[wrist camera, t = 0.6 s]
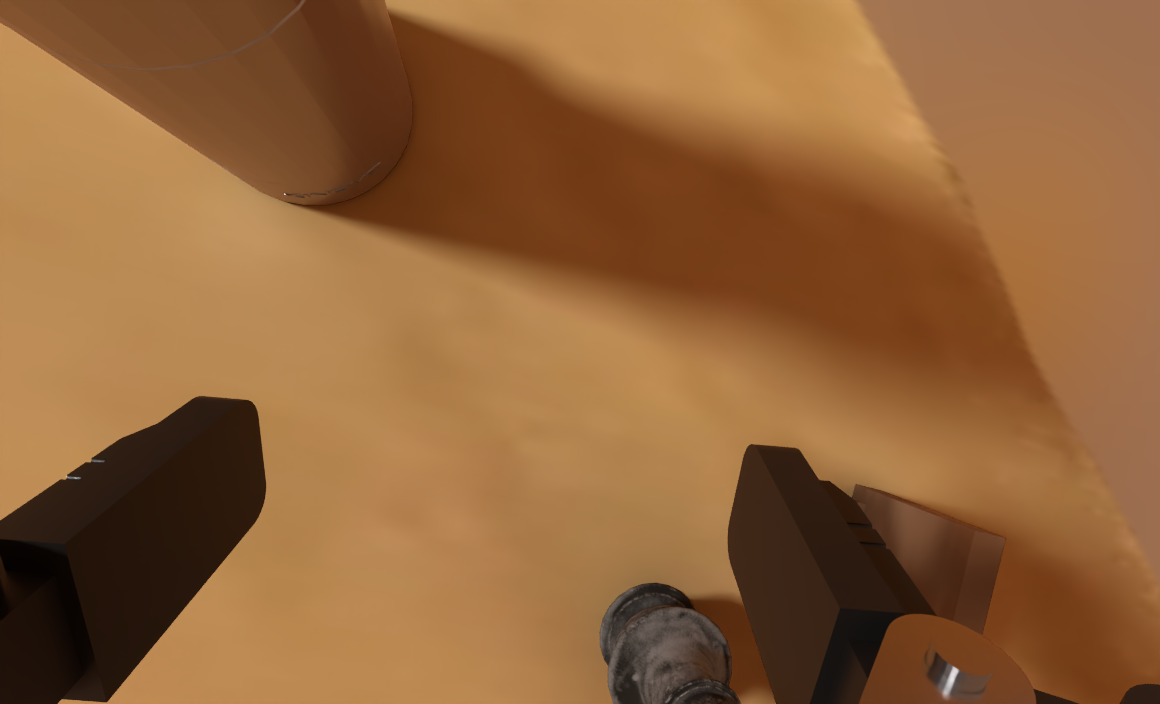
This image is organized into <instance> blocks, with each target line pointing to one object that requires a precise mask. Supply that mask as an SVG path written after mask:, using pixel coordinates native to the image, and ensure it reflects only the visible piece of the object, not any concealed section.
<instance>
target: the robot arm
mask: <svg viewBox="0 0 1160 704" xmlns="http://www.w3.org/2000/svg"><path fill="white" fill-rule="evenodd" d="M0 23H2V24H3V25H5V26H7V27H9V28H11V29H12V30H14V31H15V32H17V33H18V34H20V35H21V36H23V37H24V38H26V39H27V40H29V41H30V42H32V43H33V44H35V45H37V46H38V47H40V48H41V49H43V50H44V51H46V52H47V53H49V54H50V55H52V56H53V57H55V58H56V59H58V60H59V61H61V62H62V63H64V64H66V65H67V66H69V67H70V68H72V69H73V70H75V71H76V72H78V73H79V74H81V75H82V76H84V77H85V78H87V79H88V80H90V81H91V82H93V83H95V84H96V85H98V86H99V87H101V88H102V89H104V90H105V91H107V92H108V93H110V94H111V95H113V96H114V97H116V98H117V99H119V100H120V101H122V102H123V103H125V104H127V105H128V106H130V107H131V108H133V109H134V110H136V111H137V112H139V113H140V114H142V115H143V116H145V117H146V118H148V119H149V120H151V121H152V122H154V123H156V124H157V125H159V126H160V127H162V128H163V129H165V130H166V131H168V132H169V133H171V134H172V135H174V136H175V137H177V138H178V139H180V140H181V141H183V142H185V143H186V144H188V145H189V146H191V147H192V148H194V149H195V150H197V151H198V152H200V153H201V154H203V155H204V156H206V157H207V158H209V159H210V160H212V161H213V162H215V163H216V164H218V165H219V166H221V167H223V168H224V169H226V170H227V171H229V172H231V173H232V174H234V175H235V176H237V177H238V178H240V179H242V180H243V181H245V182H246V183H248V184H249V185H251V186H252V187H254V188H255V189H257V190H258V191H260V192H262V193H264V194H267V195H269V196H272V197H274V198H277V199H279V200H281V201H286V202H291V203H296V204H302V205H328V204H332V203H337V202H342V201H346V200H349V199H351V198H354V197H356V196H358V195H360V194H362V193H365V192H367V191H368V190H370V189H371V188H372V187H374V186H375V185H376V184H378V183H379V182H380V181H382V180H383V179H384V178H385V177H386V176H387V175H388V173H389V172H390V171H391V170H392V169H393V168H394V166H395V165H396V164H397V163H398V161H399V159H400V157H401V155H402V153H403V151H404V149H405V147H406V146H407V142H408V138H409V135H410V131H411V127H412V112H413V103H412V98H411V92H410V86H409V82H408V79H407V75H406V72H405V69H404V65H403V62H402V58H401V55H400V52H399V48H398V44H397V40H396V37H395V34H394V30H393V27H392V24H391V20H390V17H389V14H388V10H387V7H386V3H385V0H0ZM265 494H266V479H265V470H264V461H263V453H262V444H261V435H260V427H259V418H258V412H257V409H256V407H255V405H254V404H253V403H252V402H251V401H249V400H241V399H230V398H218V397H206V396H198V397H195V398H194V399H192V400H190V401H189V402H188V403H186V404H185V405H183V406H182V407H181V408H179V409H178V410H176V411H175V412H173V413H172V414H171V415H169V416H168V417H166V418H165V419H164V420H162V421H161V422H159V423H158V424H155V425H153V426H150V427H148V428H145V429H143V430H141V431H138V432H136V433H133V434H131V435H128V436H126V437H123V438H121V439H119V440H118V441H116V442H115V443H113V444H112V445H110V446H109V447H108V448H106V449H105V450H103V451H102V452H100V453H99V454H97V455H96V456H94V457H93V458H92V461H91V463H88V462H86V463H84V464H83V465H81V466H80V467H78V468H77V469H75V470H74V471H72V472H71V473H69V474H68V475H67V479H66V480H62V479H61V480H59V481H58V482H56V483H55V484H53V485H52V486H50V487H49V488H47V489H46V490H44V491H43V492H42V493H40V494H39V495H37V496H36V497H34V498H33V499H31V500H30V501H28V502H27V503H25V504H24V505H22V506H21V507H20V508H18V509H17V510H15V511H14V512H12V513H11V514H9V515H8V516H6V517H5V518H3V519H2V520H0V704H58V702H59V701H60V700H61V699H68V700H82V701H96V702H107V701H108V700H109V699H110V698H111V697H112V695H113V694H114V693H115V692H116V691H117V689H118V688H119V687H120V686H121V684H122V683H123V682H124V681H125V680H126V678H127V677H128V676H129V675H130V674H131V672H132V671H133V670H134V669H135V668H136V666H137V665H138V664H139V663H140V661H141V660H142V659H143V658H144V657H145V655H146V654H147V653H148V652H149V651H150V649H151V648H152V647H153V646H154V644H155V643H156V642H157V641H158V640H159V638H160V637H161V636H162V635H163V634H164V632H165V631H166V630H167V629H168V628H169V626H170V625H171V624H172V623H173V621H174V620H175V619H176V618H177V617H178V615H179V614H180V613H181V612H182V611H183V609H184V608H185V607H186V606H187V604H188V603H189V602H190V601H191V600H192V598H193V597H194V596H195V595H196V594H197V592H198V591H199V590H200V589H201V588H202V586H203V585H204V584H205V583H206V581H207V580H208V579H209V578H210V577H211V575H212V574H213V573H214V572H215V571H216V569H217V568H218V567H219V566H220V564H221V563H222V562H223V561H224V560H225V558H226V557H227V556H228V555H229V554H230V552H231V551H232V550H233V549H234V547H235V546H236V545H237V544H238V543H239V541H240V540H241V539H242V538H243V537H244V535H245V534H246V533H247V532H248V531H249V529H250V528H251V527H252V526H253V524H254V523H255V522H256V520H257V518H258V517H259V515H260V512H261V510H262V507H263V504H264V500H265ZM728 553H729V559H730V563H731V567H732V570H733V573H734V576H735V579H736V582H737V585H738V588H739V591H740V594H741V597H742V600H743V603H744V606H745V609H746V613H747V616H748V619H749V622H750V625H751V628H752V631H753V634H754V637H755V640H756V643H757V646H758V649H759V652H760V656H761V659H762V662H763V665H764V668H765V671H766V674H767V677H768V680H769V683H770V686H771V689H772V692H773V695H774V698H775V702H776V704H1078V703H1075V702H1072V701H1069V700H1066V699H1063V698H1060V697H1056V696H1053V695H1050V694H1047V693H1044V692H1041V691H1038V690H1035V689H1033V687H1032V685H1031V683H1030V681H1029V680H1028V678H1027V676H1026V675H1025V674H1024V672H1023V671H1022V670H1021V668H1020V667H1019V666H1018V665H1017V664H1016V663H1015V662H1014V660H1013V659H1012V658H1011V657H1010V656H1009V655H1007V654H1006V653H1005V652H1004V651H1003V650H1002V649H1001V648H999V647H998V646H997V645H995V644H994V643H993V642H991V641H990V640H988V639H987V638H985V637H984V636H982V635H980V634H979V633H977V632H975V631H973V630H971V629H969V628H968V627H966V626H963V625H961V624H959V623H956V622H954V621H951V620H948V619H945V618H942V617H938V616H937V615H936V614H935V612H934V611H933V609H932V608H931V606H930V605H929V604H928V602H927V601H926V599H925V598H924V597H923V595H922V594H921V592H920V591H919V590H918V588H917V587H916V585H915V584H914V583H913V581H912V580H911V578H910V577H909V575H908V574H907V573H906V571H905V570H904V568H903V567H902V566H901V564H900V563H899V561H898V560H897V559H896V557H895V556H894V554H893V553H892V551H891V550H890V549H886V543H885V542H884V540H883V539H882V537H881V536H880V535H879V533H878V532H877V530H876V529H872V523H871V522H870V520H869V519H868V518H867V516H866V515H865V513H864V512H863V511H862V509H861V508H860V506H859V505H858V504H857V502H856V501H855V500H853V499H852V498H851V497H850V496H848V495H847V494H846V493H844V492H843V491H842V490H840V489H839V488H838V487H837V486H835V485H834V484H833V483H831V482H830V481H821V480H819V479H818V478H817V476H816V475H815V473H814V472H813V470H812V469H811V467H810V465H809V464H808V462H807V461H806V459H805V458H804V456H803V455H802V453H801V452H800V450H798V449H797V448H789V447H778V446H766V445H754V444H751V445H749V446H748V448H747V449H746V451H745V454H744V457H743V461H742V466H741V471H740V475H739V480H738V484H737V489H736V493H735V498H734V503H733V507H732V512H731V516H730V521H729V527H728ZM1120 704H1160V685H1155V684H1143V685H1137V686H1134V687H1132V688H1130V689H1129V690H1128V691H1127V692H1126V694H1125V695H1124V697H1123V699H1122V700H1121V702H1120Z"/></svg>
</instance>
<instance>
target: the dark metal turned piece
mask: <svg viewBox="0 0 1160 704" xmlns="http://www.w3.org/2000/svg"><path fill="white" fill-rule="evenodd" d="M600 647H601V651H602V654H603V657H604V660H605V662H606V663H607V665H608V687H609V691H610V694H611V697H612V701H613V703H614V704H741V702H740V700H739V699H738V697H737V695H736V694H735V692H734V691H733V690H732V689H731V688H730V687H729V683H730V678H731V674H732V657H731V653H730V649H729V646H728V642H727V640H726V638H725V637H724V635H723V634H722V632H721V630H720V629H719V627H718V626H717V625H716V624H715V623H714V622H712V621H711V620H710V619H709V618H708V617H707V616H705V615H703V614H701V613H699V612H697V611H696V610H695V609H694V607H693V606H692V604H691V602H690V601H689V599H688V598H687V597H685V596H684V595H683V594H682V593H681V592H680V591H679V590H677V589H675V588H673V587H671V586H669V585H664V584H659V583H648V584H641V585H638V586H636V587H633V588H630V589H629V590H627V591H626V592H624V593H623V594H621V595H620V596H618V597H617V599H616V600H615V601H614V602H613V603H612V604H611V605H610V607H609V608H608V610H607V612H606V614H605V616H604V618H603V621H602V625H601V629H600Z"/></svg>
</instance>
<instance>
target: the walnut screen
mask: <svg viewBox="0 0 1160 704" xmlns="http://www.w3.org/2000/svg"><path fill="white" fill-rule="evenodd" d="M852 499H853V500H855V501H856V502H857V504H858V505H859V506H860V508H861V509H862V511H863V512H864V513H865V515H866V516H867V518H868V519H869V520H870V522H871V523H872V529H876V530H877V532H878V533H879V535H880V536H881V537H882V539H883V540H884V542H885V543H886V549H890V550H891V551H892V553H893V554H894V556H895V557H896V559H897V560H898V561H899V563H900V564H901V566H902V567H903V568H904V570H905V571H906V573H907V574H908V575H909V577H910V578H911V580H912V581H913V583H914V584H915V585H916V587H917V588H918V590H919V591H920V592H921V594H922V595H923V597H924V598H925V599H926V601H927V602H928V604H929V605H930V606H931V608H932V609H933V611H934V612H935V614H936V615H937V616H938V617H942V618H945V619H948V620H951V621H954V622H956V623H959V624H961V625H963V626H966V627H968V628H969V629H971V630H973V631H975V632H977V633H979V634H980V635H982V634H983V630H984V626H985V622H986V617H987V613H988V609H989V605H990V601H991V597H992V593H993V589H994V585H995V581H996V577H997V573H998V569H999V564H1000V560H1001V556H1002V552H1003V548H1004V544H1005V540H1006V538H1004V537H1001V536H999V535H996V534H993V533H991V532H988V531H985V530H983V529H980V528H978V527H975V526H972V525H970V524H967V523H965V522H962V521H959V520H957V519H954V518H951V517H949V516H946V515H944V514H941V513H938V512H936V511H933V510H930V509H928V508H925V507H923V506H920V505H917V504H915V503H912V502H909V501H907V500H904V499H902V498H899V497H896V496H894V495H891V494H889V493H886V492H883V491H881V490H877V489H873V488H869V487H865V486H861V485H857V484H856V485H855V489H854V493H853V497H852Z"/></svg>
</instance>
